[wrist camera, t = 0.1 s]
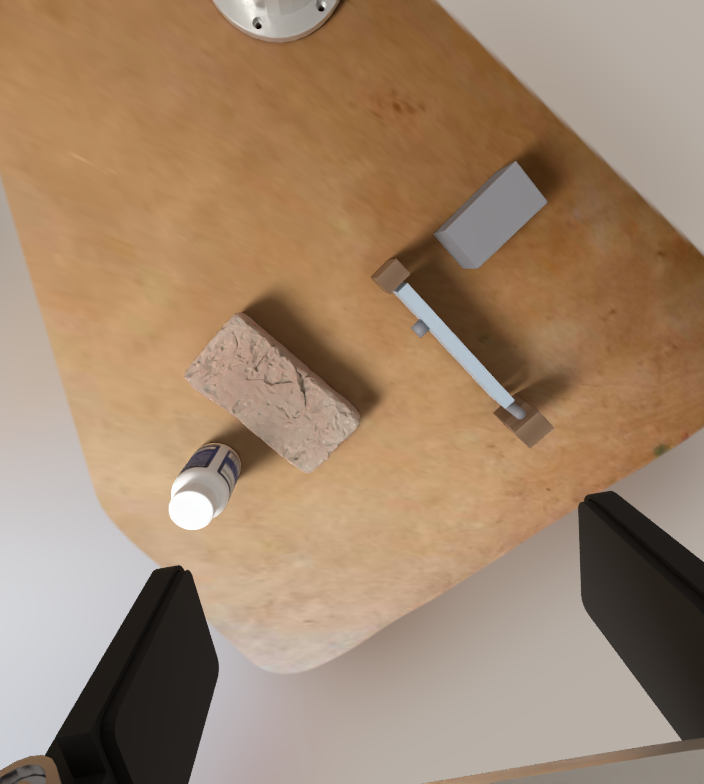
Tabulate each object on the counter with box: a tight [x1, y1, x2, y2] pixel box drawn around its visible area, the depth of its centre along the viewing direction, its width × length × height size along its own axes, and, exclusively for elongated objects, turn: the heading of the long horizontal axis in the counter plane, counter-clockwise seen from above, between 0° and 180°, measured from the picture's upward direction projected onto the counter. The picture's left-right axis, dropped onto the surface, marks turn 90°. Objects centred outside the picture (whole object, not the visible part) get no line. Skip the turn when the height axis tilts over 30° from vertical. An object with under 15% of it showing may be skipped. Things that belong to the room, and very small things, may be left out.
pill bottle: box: [169, 443, 241, 530], centre depth 45 cm, size 5×5×10 cm
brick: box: [184, 312, 360, 473], centre depth 46 cm, size 17×8×5 cm, turn 48°
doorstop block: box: [433, 161, 547, 269], centre depth 42 cm, size 4×8×5 cm, turn 134°
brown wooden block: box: [494, 394, 554, 448], centre depth 46 cm, size 2×3×6 cm
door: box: [393, 282, 526, 419], centre depth 44 cm, size 17×2×6 cm, turn 44°
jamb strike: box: [371, 259, 410, 294], centre depth 42 cm, size 2×2×6 cm
